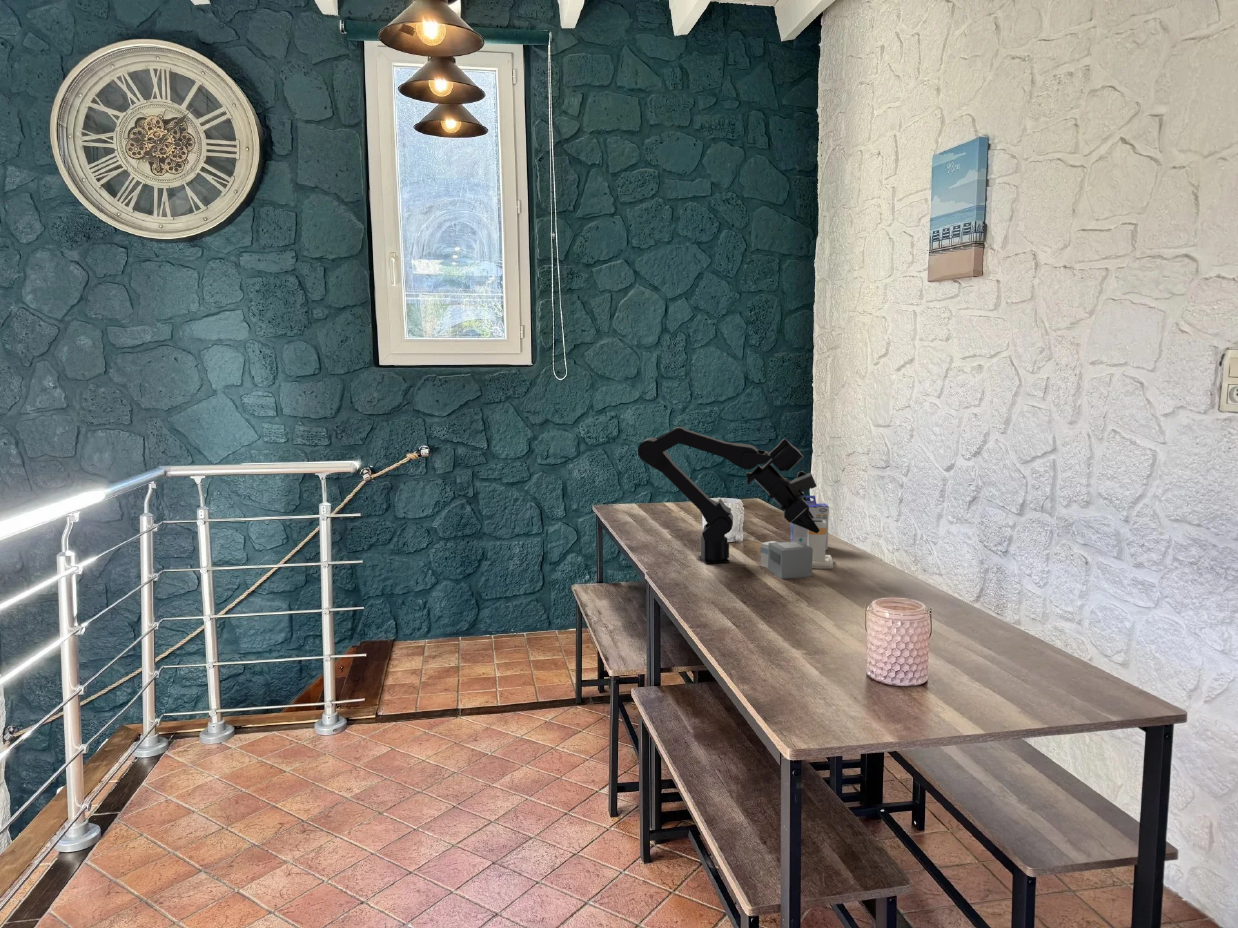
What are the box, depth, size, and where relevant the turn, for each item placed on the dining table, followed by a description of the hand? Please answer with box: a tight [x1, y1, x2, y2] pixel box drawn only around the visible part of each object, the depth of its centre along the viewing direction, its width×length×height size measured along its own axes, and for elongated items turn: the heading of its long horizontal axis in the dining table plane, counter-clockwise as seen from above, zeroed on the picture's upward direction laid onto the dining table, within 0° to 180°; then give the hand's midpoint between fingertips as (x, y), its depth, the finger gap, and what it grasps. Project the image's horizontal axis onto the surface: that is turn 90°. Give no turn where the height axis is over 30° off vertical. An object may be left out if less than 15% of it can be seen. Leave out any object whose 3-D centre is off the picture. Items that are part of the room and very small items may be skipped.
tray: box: [812, 554, 834, 570], centre depth 210 cm, size 8×8×2 cm
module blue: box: [760, 540, 777, 569], centre depth 208 cm, size 4×4×6 cm
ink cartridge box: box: [790, 495, 830, 551], centre depth 226 cm, size 10×6×14 cm, turn 89°
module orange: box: [807, 518, 826, 562], centre depth 209 cm, size 4×4×11 cm
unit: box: [767, 540, 813, 580], centre depth 201 cm, size 8×8×7 cm
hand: (816, 527), depth 209 cm, fingers open, 9 cm apart
